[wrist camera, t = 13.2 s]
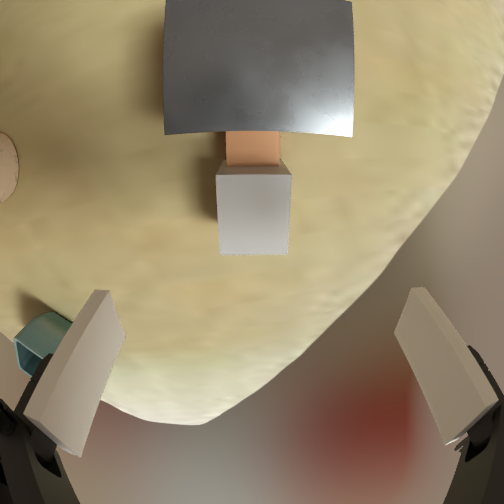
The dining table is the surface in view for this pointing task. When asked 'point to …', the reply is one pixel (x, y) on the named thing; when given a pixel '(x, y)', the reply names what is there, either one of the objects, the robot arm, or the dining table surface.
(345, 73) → the block
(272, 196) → the orange bar on cube
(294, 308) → the dining table surface
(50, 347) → the flower pot
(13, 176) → the teacup with lid
